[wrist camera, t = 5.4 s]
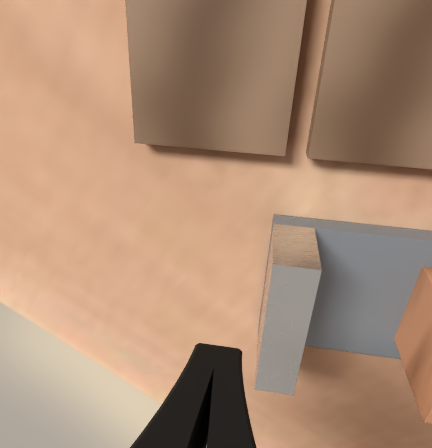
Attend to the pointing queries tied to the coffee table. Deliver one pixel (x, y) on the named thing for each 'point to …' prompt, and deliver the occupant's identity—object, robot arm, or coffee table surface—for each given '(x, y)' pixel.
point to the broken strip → (283, 77)
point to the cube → (418, 342)
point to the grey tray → (333, 292)
